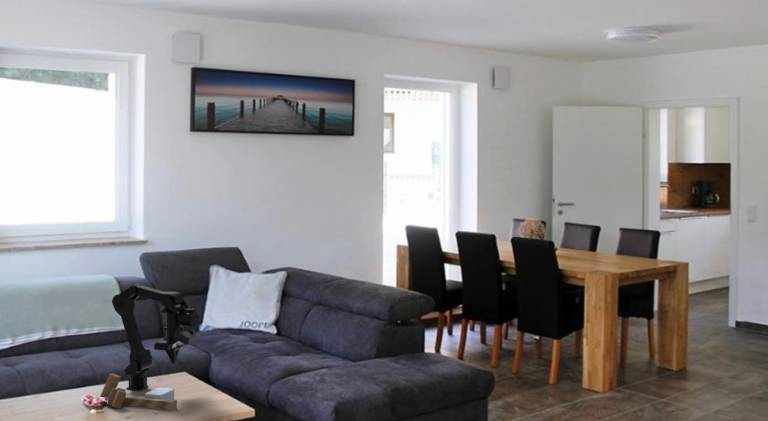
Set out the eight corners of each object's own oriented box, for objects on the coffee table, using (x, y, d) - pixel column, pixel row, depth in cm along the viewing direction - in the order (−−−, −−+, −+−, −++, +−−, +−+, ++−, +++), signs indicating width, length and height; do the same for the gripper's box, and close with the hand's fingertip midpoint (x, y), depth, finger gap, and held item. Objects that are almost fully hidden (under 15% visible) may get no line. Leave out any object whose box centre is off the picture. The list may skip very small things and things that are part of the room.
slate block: (144, 405, 300) (144, 393, 299) (158, 399, 308) (158, 387, 308) (161, 407, 297) (160, 395, 297) (174, 400, 306) (174, 389, 306)
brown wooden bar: (120, 405, 299) (120, 397, 299) (125, 402, 302) (125, 395, 302) (172, 410, 293) (172, 402, 292) (176, 407, 295) (176, 399, 295)
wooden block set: (122, 414, 295) (134, 388, 296) (100, 408, 292) (111, 381, 293) (119, 400, 312) (130, 375, 313) (98, 393, 309) (109, 368, 309)
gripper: (178, 330, 303) (178, 370, 304) (203, 321, 321) (203, 359, 322) (153, 328, 307) (153, 368, 307) (179, 319, 324) (180, 357, 325)
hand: (173, 363), depth 315 cm, fingers closed
